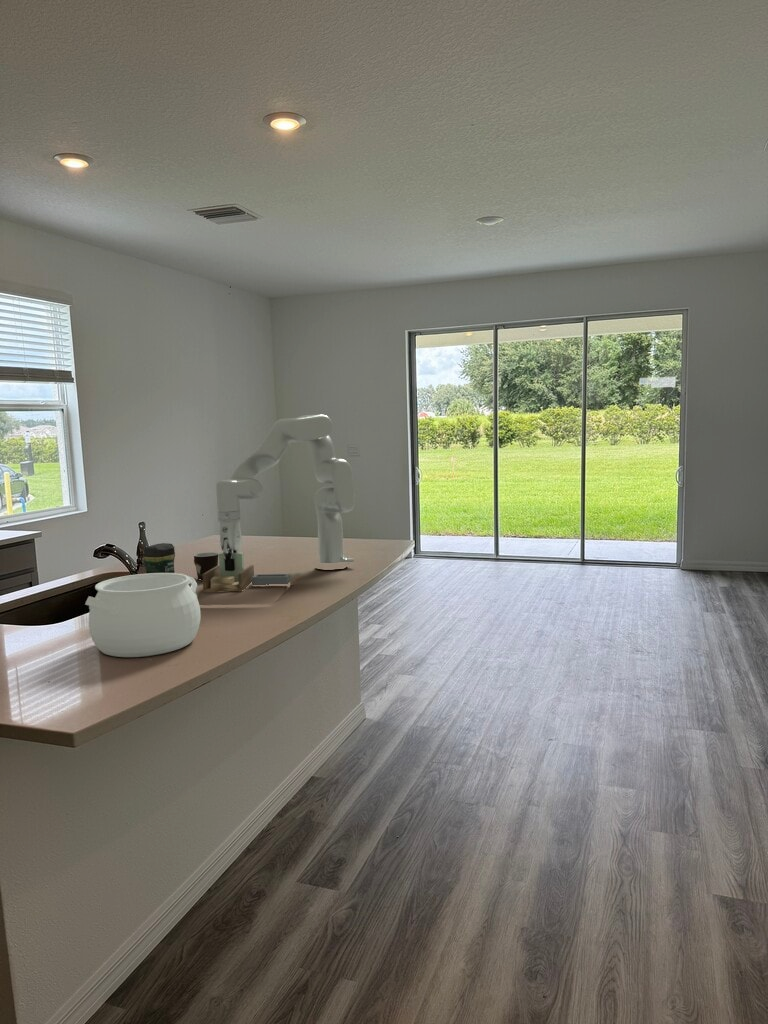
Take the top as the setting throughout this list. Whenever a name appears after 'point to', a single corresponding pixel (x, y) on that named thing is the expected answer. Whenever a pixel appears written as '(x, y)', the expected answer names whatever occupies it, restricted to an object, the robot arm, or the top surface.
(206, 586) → the rack
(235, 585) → the offcut low
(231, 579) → the offcut top
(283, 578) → the holder
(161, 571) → the coffee jar
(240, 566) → the board
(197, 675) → the top surface
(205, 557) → the coffee mug
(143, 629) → the pot
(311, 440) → the robot arm
